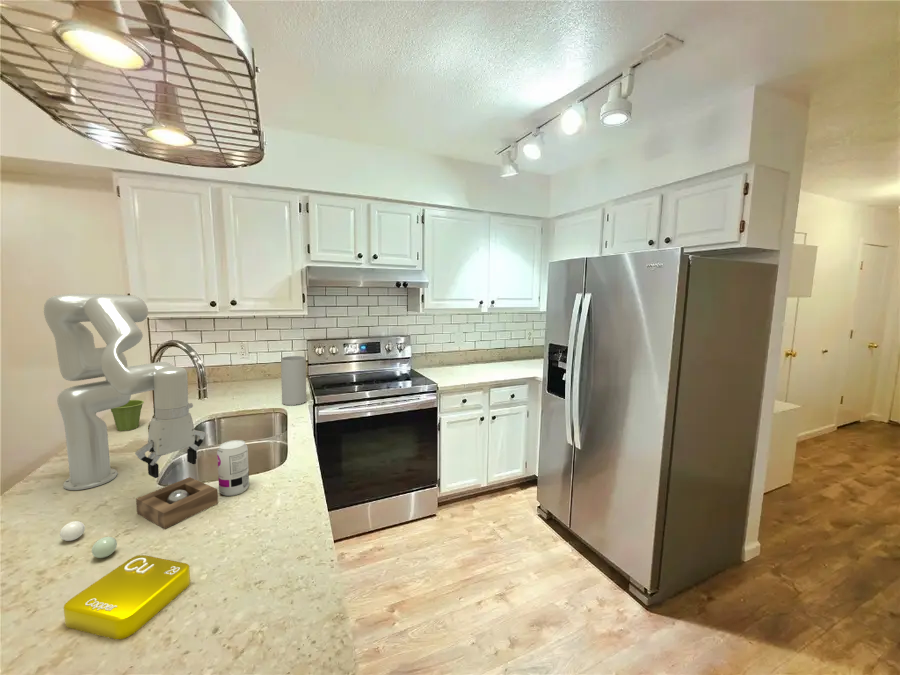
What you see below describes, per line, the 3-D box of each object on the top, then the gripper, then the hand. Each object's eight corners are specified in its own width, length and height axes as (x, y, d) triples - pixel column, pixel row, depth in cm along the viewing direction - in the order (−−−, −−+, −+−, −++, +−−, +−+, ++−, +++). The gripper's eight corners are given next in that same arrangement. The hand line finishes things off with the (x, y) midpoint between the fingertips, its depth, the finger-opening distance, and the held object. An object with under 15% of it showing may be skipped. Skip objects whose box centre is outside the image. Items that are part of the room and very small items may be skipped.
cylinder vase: (276, 404, 206) (275, 359, 203) (292, 398, 218) (291, 355, 215) (296, 407, 202) (295, 361, 199) (311, 400, 214) (310, 357, 211)
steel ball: (162, 509, 108) (162, 492, 107) (183, 500, 112) (182, 483, 111) (173, 516, 105) (172, 499, 104) (194, 506, 110) (193, 489, 109)
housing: (137, 513, 106) (135, 498, 105) (190, 490, 118) (189, 477, 118) (164, 529, 99) (163, 513, 99) (218, 503, 112) (217, 489, 111)
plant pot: (130, 433, 160) (128, 408, 159) (102, 432, 161) (100, 407, 159) (152, 424, 172) (150, 400, 171) (126, 423, 172) (124, 399, 171)
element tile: (59, 627, 71) (56, 604, 70) (138, 570, 86) (137, 550, 85) (124, 644, 68) (122, 620, 68) (195, 581, 83) (194, 561, 82)
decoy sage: (88, 558, 88) (87, 540, 88) (112, 547, 92) (110, 530, 92) (97, 565, 86) (96, 547, 86) (121, 553, 90) (119, 536, 90)
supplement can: (215, 498, 114) (213, 451, 112) (223, 484, 122) (221, 440, 120) (245, 495, 116) (243, 448, 115) (251, 482, 124) (250, 438, 122)
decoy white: (57, 541, 94) (55, 524, 93) (80, 531, 98) (79, 515, 97) (65, 547, 92) (63, 530, 91) (88, 536, 96) (87, 520, 95)
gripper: (196, 401, 115) (197, 454, 117) (127, 417, 99) (130, 478, 102) (211, 406, 111) (212, 461, 114) (142, 423, 96) (145, 486, 98)
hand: (173, 469), depth 108 cm, fingers open, 9 cm apart
